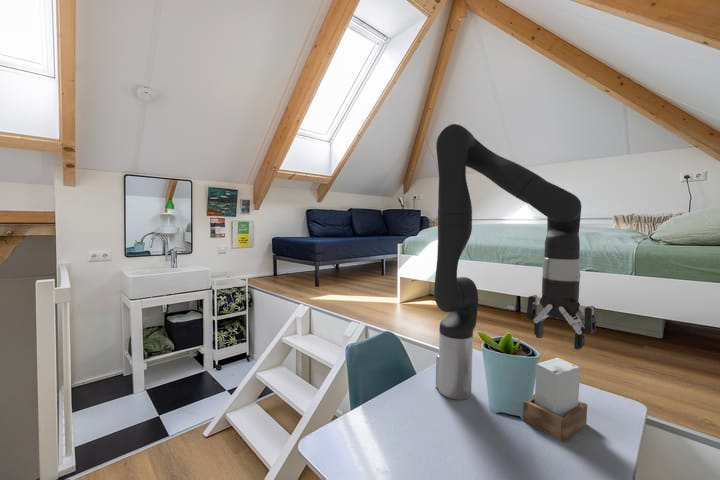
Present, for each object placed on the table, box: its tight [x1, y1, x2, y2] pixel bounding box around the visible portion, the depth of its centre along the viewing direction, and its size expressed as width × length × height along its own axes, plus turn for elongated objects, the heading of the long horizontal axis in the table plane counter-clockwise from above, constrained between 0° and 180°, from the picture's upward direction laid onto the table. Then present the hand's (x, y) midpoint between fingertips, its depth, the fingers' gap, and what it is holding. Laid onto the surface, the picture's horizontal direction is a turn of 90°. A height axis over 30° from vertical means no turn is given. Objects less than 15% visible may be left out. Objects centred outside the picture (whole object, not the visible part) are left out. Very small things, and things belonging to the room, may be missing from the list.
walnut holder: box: [522, 393, 588, 444], centre depth 77 cm, size 10×12×5 cm
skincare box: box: [534, 357, 581, 417], centre depth 76 cm, size 8×6×15 cm
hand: (557, 343), depth 76 cm, fingers open, 8 cm apart
